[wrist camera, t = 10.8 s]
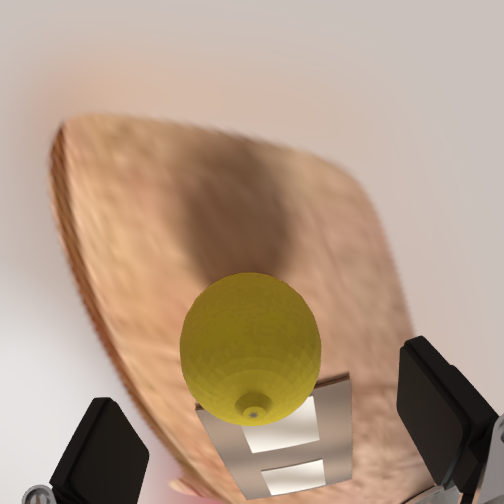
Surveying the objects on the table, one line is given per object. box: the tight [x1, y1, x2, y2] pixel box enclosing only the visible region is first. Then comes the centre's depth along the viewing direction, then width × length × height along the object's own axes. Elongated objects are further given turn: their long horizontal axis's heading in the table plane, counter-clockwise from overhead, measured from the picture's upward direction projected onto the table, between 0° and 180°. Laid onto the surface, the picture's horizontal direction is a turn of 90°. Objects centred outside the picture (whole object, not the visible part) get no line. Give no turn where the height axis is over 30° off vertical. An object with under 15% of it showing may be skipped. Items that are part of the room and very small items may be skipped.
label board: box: [195, 376, 352, 500], centre depth 19 cm, size 14×10×1 cm
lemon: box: [180, 272, 321, 426], centre depth 12 cm, size 6×6×8 cm
